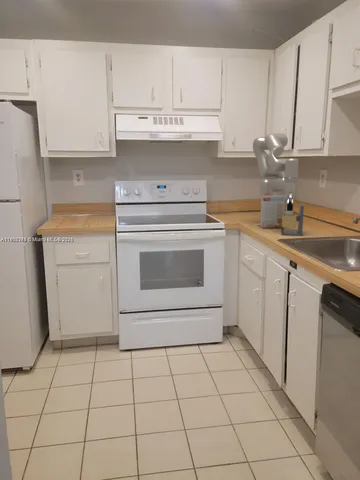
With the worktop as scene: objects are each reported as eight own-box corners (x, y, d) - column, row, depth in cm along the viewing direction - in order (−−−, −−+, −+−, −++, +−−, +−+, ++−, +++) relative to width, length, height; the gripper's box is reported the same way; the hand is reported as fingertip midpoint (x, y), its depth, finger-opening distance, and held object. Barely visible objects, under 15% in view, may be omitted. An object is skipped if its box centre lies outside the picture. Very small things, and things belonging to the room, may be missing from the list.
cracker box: (281, 226, 242) (282, 194, 238) (284, 228, 236) (285, 195, 232) (260, 227, 241) (261, 195, 237) (262, 228, 236) (263, 195, 232)
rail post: (285, 224, 220) (286, 200, 218) (292, 224, 219) (293, 200, 216) (285, 225, 216) (286, 201, 214) (292, 225, 215) (293, 201, 213)
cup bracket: (281, 230, 227) (282, 203, 224) (300, 231, 224) (302, 203, 221) (281, 235, 212) (282, 205, 209) (302, 235, 209) (304, 206, 206)
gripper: (283, 180, 222) (282, 208, 225) (284, 181, 206) (283, 211, 209) (296, 179, 220) (295, 208, 223) (298, 181, 204) (296, 211, 207)
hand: (289, 209), depth 216 cm, fingers open, 9 cm apart
